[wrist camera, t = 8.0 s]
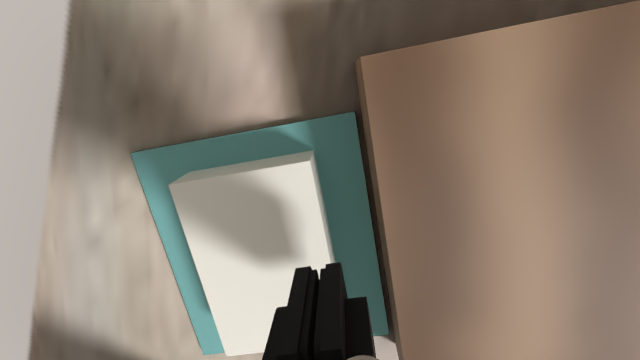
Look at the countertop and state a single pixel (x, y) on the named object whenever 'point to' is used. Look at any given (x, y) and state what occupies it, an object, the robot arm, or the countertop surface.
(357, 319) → the robot arm
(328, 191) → the mat
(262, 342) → the cream bevelled block
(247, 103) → the countertop surface
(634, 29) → the brown wooden slab
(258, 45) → the countertop surface
